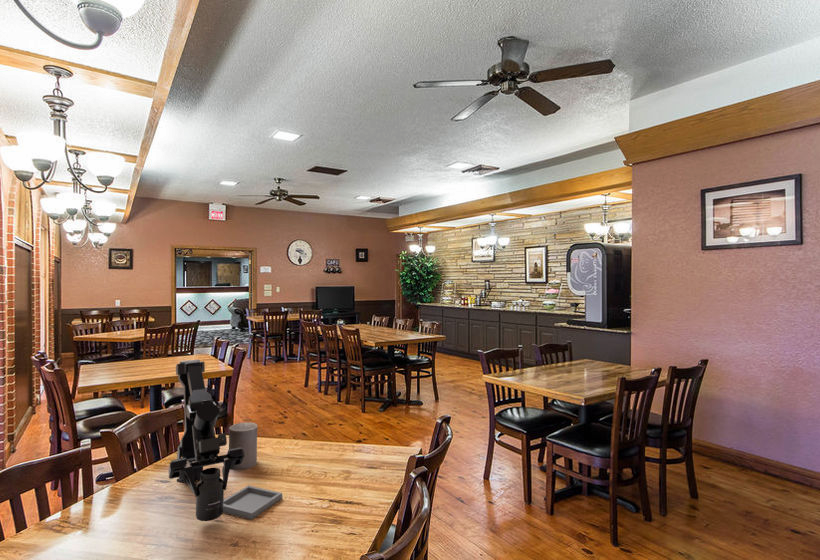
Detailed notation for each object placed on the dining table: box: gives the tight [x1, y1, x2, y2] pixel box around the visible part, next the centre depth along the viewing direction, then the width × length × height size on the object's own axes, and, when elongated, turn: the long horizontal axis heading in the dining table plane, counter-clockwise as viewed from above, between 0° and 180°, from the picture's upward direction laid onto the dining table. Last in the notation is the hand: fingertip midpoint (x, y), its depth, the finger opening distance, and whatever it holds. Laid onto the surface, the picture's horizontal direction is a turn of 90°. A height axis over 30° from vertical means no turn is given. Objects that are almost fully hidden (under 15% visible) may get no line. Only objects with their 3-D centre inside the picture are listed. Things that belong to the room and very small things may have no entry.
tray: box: [223, 485, 283, 521], centre depth 132 cm, size 13×13×2 cm
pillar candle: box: [228, 422, 258, 471], centre depth 161 cm, size 10×10×15 cm
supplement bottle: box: [195, 467, 225, 522], centre depth 121 cm, size 7×7×12 cm
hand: (211, 492), depth 120 cm, fingers closed on supplement bottle, 7 cm apart
